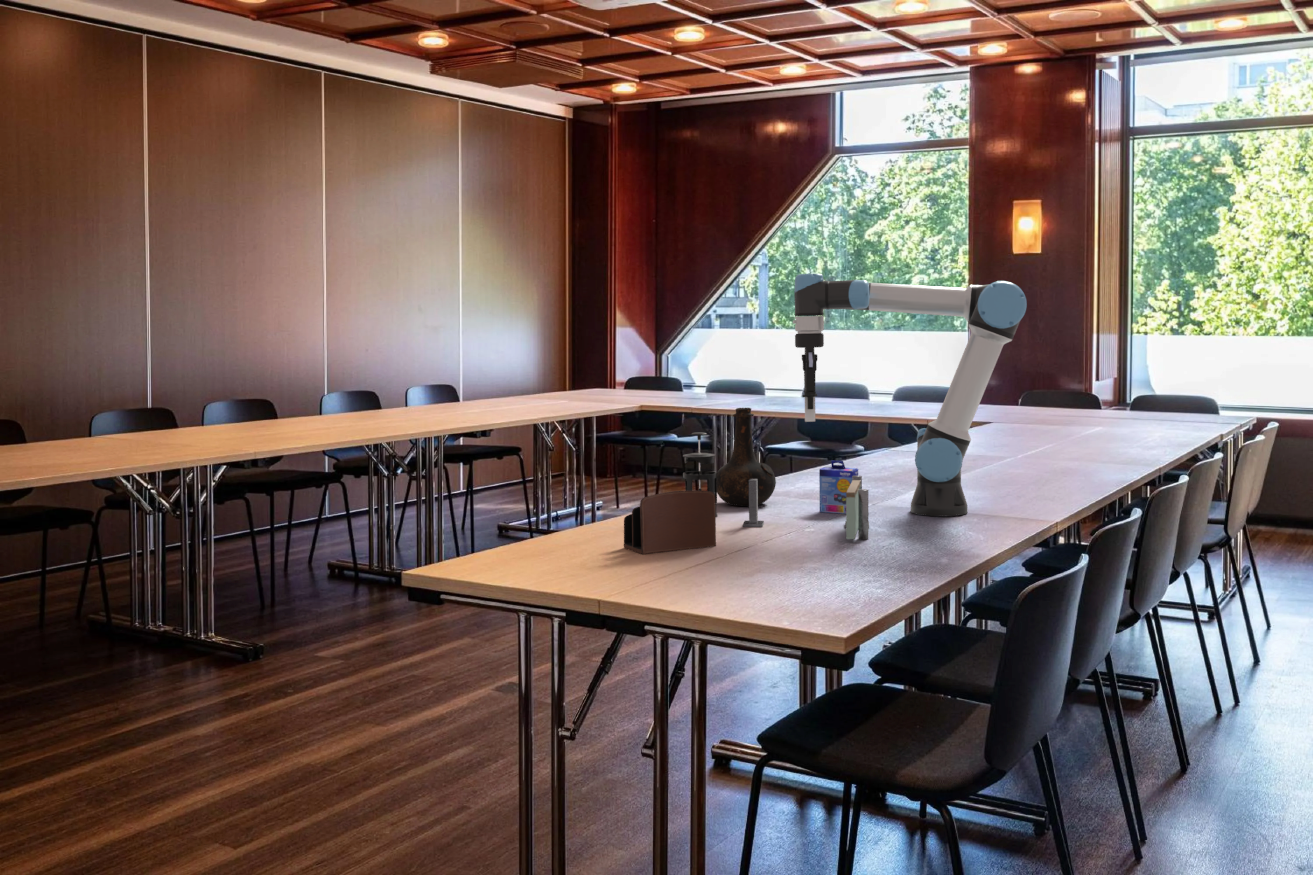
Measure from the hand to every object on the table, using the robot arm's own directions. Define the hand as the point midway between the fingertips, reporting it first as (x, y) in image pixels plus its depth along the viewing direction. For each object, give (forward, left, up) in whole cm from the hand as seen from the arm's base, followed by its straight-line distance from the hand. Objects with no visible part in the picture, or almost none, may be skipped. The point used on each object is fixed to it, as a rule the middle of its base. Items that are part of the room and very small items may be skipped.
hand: (810, 421), depth 330 cm
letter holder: (+31, +45, -26) cm, 61 cm away
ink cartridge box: (-7, -10, -26) cm, 29 cm away
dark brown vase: (+20, -23, -26) cm, 40 cm away
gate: (-12, +26, -25) cm, 38 cm away
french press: (+30, -1, -26) cm, 40 cm away
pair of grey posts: (+1, +21, -26) cm, 34 cm away
